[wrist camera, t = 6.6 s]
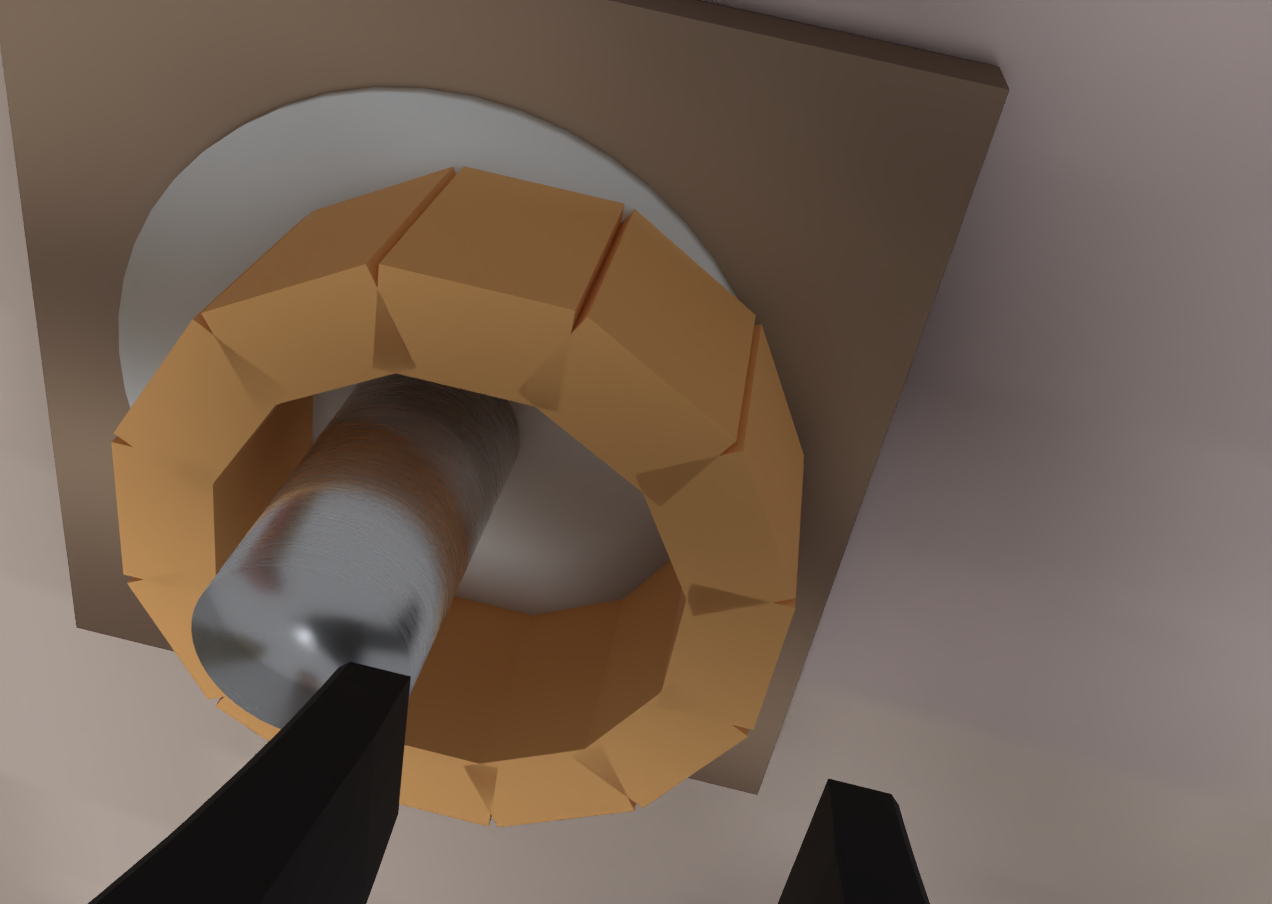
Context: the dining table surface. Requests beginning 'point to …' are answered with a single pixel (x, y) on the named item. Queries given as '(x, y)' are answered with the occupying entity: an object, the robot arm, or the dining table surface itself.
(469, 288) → the wooden ring
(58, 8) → the walnut base plate
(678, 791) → the dining table surface
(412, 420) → the steel shaft
